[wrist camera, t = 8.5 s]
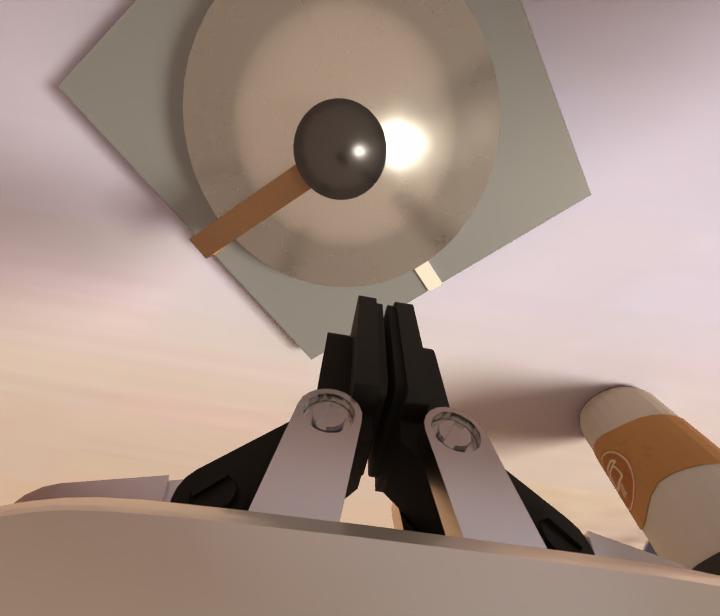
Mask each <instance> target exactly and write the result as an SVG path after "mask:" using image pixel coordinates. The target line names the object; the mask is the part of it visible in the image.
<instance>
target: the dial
mask: <svg viewBox="0 0 720 616" xmlns="http://www.w3.org/2000/svg"><path fill="white" fill-rule="evenodd" d="M183 121H184V132H185V138H186V143H187V149H188V153H189V157H190V160H191V163H192V167H193V170H194V173H195V176H196V178H197V180H198V183H199V185H200V187H201V190H202V192H203V194H204V196H205V198H206V199H207V201H208V203H209V205H210V207H211V208H212V210H213V212H214V213H215V214H216V216H217V217H218V219H216V220H215V221H213V222H212V223H211V224H209V225H208V226H207V227H205V228H204V229H202V230H201V231H200V232H198V233H197V234H196V235H194V236H193V237H191V238H190V239H189V240H190V241H191V242H192V243H193V244H194V245H195V246H196V248H197V249H198V250H199V251H200V252H201V253H202V255H203V256H204V257H205V258H206V259H207V258H208V257H210V256H211V255H213V254H214V253H216V252H217V251H219V250H220V249H222V248H223V247H225V246H226V245H228V244H229V243H231V242H232V241H234V240H235V239H236V240H237V241H238V242H239V243H240V244H241V245H242V246H243V247H244V248H245V249H247V250H248V251H249V252H250V253H251V254H252V255H254V256H255V257H257V258H258V259H259V260H261V261H262V262H264V263H265V264H267V265H268V266H270V267H272V268H274V269H276V270H278V271H279V272H281V273H283V274H286V275H288V276H291V277H293V278H296V279H298V280H301V281H305V282H309V283H312V284H316V285H323V286H330V287H359V286H368V285H373V284H377V283H382V282H385V281H388V280H391V279H394V278H397V277H400V276H402V275H404V274H406V273H408V272H410V271H412V270H414V269H416V268H417V267H419V266H421V265H422V264H424V263H425V262H427V261H428V260H430V259H431V258H432V257H434V256H435V255H436V254H437V253H439V252H440V251H441V250H442V249H443V248H444V247H445V246H446V245H447V244H448V243H449V242H450V241H451V240H452V239H453V238H454V237H455V236H456V235H457V234H458V233H459V231H460V230H461V229H462V227H463V226H464V225H465V223H466V222H467V221H468V219H469V218H470V216H471V214H472V213H473V211H474V209H475V208H476V206H477V204H478V203H479V201H480V199H481V196H482V194H483V192H484V190H485V187H486V185H487V183H488V180H489V177H490V174H491V170H492V167H493V164H494V160H495V155H496V150H497V145H498V138H499V125H500V104H499V90H498V84H497V78H496V72H495V68H494V64H493V61H492V57H491V54H490V51H489V47H488V45H487V42H486V40H485V38H484V35H483V33H482V31H481V29H480V26H479V24H478V22H477V20H476V19H475V17H474V16H473V14H472V12H471V11H470V9H469V7H468V6H467V4H466V2H465V1H464V0H214V2H213V3H212V5H211V6H210V8H209V9H208V11H207V13H206V15H205V17H204V19H203V21H202V23H201V25H200V27H199V29H198V31H197V33H196V36H195V39H194V42H193V45H192V48H191V51H190V54H189V58H188V63H187V68H186V74H185V79H184V91H183Z"/></svg>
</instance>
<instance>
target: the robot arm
mask: <svg viewBox="0 0 720 616" xmlns="http://www.w3.org/2000/svg"><path fill="white" fill-rule="evenodd" d="M367 460H368V475H369V476H370V477H375V491H379V492H384V493H385V494H386V496H387V497H388V498H389V499H390V500H391V501H392V502H393V504H392V518H393V523H394V528H395V529H391V528H383V527H375V526H367V525H359V524H351V523H343V522H340V517H341V513H342V508H343V504H344V499H345V498H346V497H348V496H349V495H350V494H351V493H353V492H354V491H355V490H356V489H358V485H359V482H360V478H361V475H363V474H364V470H365V467H366V464H367ZM0 616H720V576H719V575H714V574H709V573H704V572H699V571H694V570H691V569H689V568H687V567H685V566H683V565H681V564H679V563H676V562H673V561H671V560H668V559H665V558H662V557H659V556H657V555H654V554H651V553H648V552H645V551H643V550H640V549H637V548H634V547H631V546H629V545H626V544H623V543H620V542H617V541H615V540H612V539H609V538H606V537H603V536H600V535H598V534H595V533H592V532H589V531H587V532H586V534H585V535H583V534H582V533H581V531H580V530H579V529H578V528H577V527H576V526H575V525H574V524H573V523H572V522H571V521H570V520H568V519H567V518H566V517H565V516H563V515H562V514H561V513H560V512H558V511H557V510H556V509H555V508H553V507H552V506H551V505H550V504H548V503H547V502H546V501H544V500H543V499H542V498H541V497H539V496H538V495H537V494H536V493H534V492H533V491H532V490H531V489H529V488H528V487H527V486H526V485H524V484H523V483H522V482H520V481H519V480H518V479H517V478H515V477H514V476H513V475H512V474H510V473H509V472H508V471H507V470H505V468H504V466H503V464H502V462H501V460H500V459H499V457H498V455H497V453H496V451H495V449H494V447H493V445H492V444H491V442H490V440H489V438H488V436H487V434H486V432H485V431H484V429H483V428H482V426H481V425H480V424H479V423H478V422H477V421H476V420H475V419H474V418H473V417H471V416H470V415H468V414H466V413H465V412H463V411H460V410H458V409H455V408H450V407H449V403H448V400H447V396H446V392H445V389H444V385H443V381H442V378H441V374H440V370H439V367H438V363H437V359H436V356H435V353H434V350H432V349H427V348H423V346H422V342H421V338H420V333H419V329H418V324H417V320H416V316H415V311H414V307H413V305H411V304H406V303H400V302H394V304H393V306H391V305H387V307H386V310H385V314H384V316H383V304H379V303H377V299H376V298H371V297H366V296H360V295H359V296H358V300H357V305H356V310H355V315H354V320H353V324H352V329H351V334H350V336H349V335H343V334H337V333H331V332H328V333H327V339H326V344H325V350H324V355H323V361H322V366H321V372H320V377H319V382H318V388H317V390H314V391H311V392H309V393H307V394H306V395H305V396H303V397H302V398H301V400H300V401H299V402H298V404H297V406H296V408H295V411H294V413H293V415H292V417H291V419H290V421H289V422H288V423H286V424H284V425H282V426H280V427H278V428H276V429H274V430H272V431H270V432H268V433H267V434H265V435H263V436H261V437H259V438H257V439H255V440H253V441H251V442H249V443H247V444H245V445H243V446H242V447H240V448H238V449H236V450H234V451H232V452H230V453H228V454H226V455H224V456H222V457H220V458H218V459H217V460H215V461H213V462H211V463H209V464H207V465H205V466H203V467H201V468H199V469H197V470H196V471H194V472H193V473H191V474H190V475H188V476H187V477H186V478H185V479H184V480H172V481H169V475H165V476H152V477H138V478H125V479H112V480H99V481H86V482H73V483H60V484H55V485H50V486H45V487H42V488H39V489H37V490H35V491H33V492H31V493H29V494H26V495H24V496H23V497H22V498H20V499H19V500H18V501H16V502H15V503H13V504H9V505H4V506H0Z"/></svg>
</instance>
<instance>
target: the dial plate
mask: <svg viewBox="0 0 720 616" xmlns="http://www.w3.org/2000/svg"><path fill="white" fill-rule="evenodd" d="M464 1H465V2H466V4H467V6H468V7H469V9H470V11H471V12H472V14H473V16H474V17H475V19H476V20H477V22H478V24H479V26H480V29H481V31H482V33H483V35H484V38H485V40H486V42H487V45H488V47H489V51H490V54H491V57H492V61H493V64H494V68H495V72H496V78H497V84H498V90H499V104H500V125H499V138H498V145H497V150H496V155H495V160H494V164H493V167H492V170H491V174H490V177H489V180H488V183H487V185H486V187H485V190H484V192H483V194H482V196H481V199H480V201H479V203H478V204H477V206H476V208H475V209H474V211H473V213H472V214H471V216H470V218H469V219H468V221H467V222H466V223H465V225H464V226H463V227H462V229H461V230H460V231H459V233H458V234H457V235H456V236H455V237H454V238H453V239H452V240H451V241H450V242H449V243H448V244H447V245H446V246H445V247H444V248H443V249H442V250H441V251H440V252H439V253H437V254H436V255H435V256H434V257H432V258H431V259H430V260H428V261H427V262H425V263H424V264H422V265H421V266H419V267H417V268H416V269H414V270H412V271H410V272H408V273H406V274H404V275H402V276H400V277H397V278H394V279H391V280H388V281H385V282H382V283H377V284H373V285H368V286H359V287H330V286H323V285H316V284H312V283H309V282H305V281H301V280H298V279H296V278H293V277H291V276H288V275H286V274H283V273H281V272H279V271H278V270H276V269H274V268H272V267H270V266H268V265H267V264H265V263H264V262H262V261H261V260H259V259H258V258H257V257H255V256H254V255H252V254H251V253H250V252H249V251H248V250H247V249H245V248H244V247H243V246H242V245H241V244H240V243H239V242H238V241H237V240H236V239H235V240H234V241H232V242H231V243H229V244H228V245H226V246H225V247H223V248H222V249H220V250H219V251H217V252H216V253H214V254H213V255H215V256H216V257H217V259H218V260H219V261H220V262H221V263H222V264H223V265H224V266H225V267H226V268H227V269H228V270H229V271H230V272H231V274H232V275H233V276H234V277H235V278H236V279H237V280H238V281H239V282H240V283H241V284H242V285H243V286H244V288H245V289H246V290H247V291H248V292H249V293H250V294H251V295H252V296H253V297H254V298H255V299H256V300H257V302H258V303H259V304H260V305H261V306H262V307H263V308H264V309H265V310H266V311H267V312H268V313H269V314H270V316H271V317H272V318H273V319H274V320H275V321H276V322H277V323H278V324H279V325H280V326H281V327H282V328H283V329H284V331H285V332H286V333H287V334H288V335H289V336H290V337H291V338H292V339H293V340H294V341H295V342H296V343H297V345H298V346H299V347H300V348H301V349H302V350H303V351H304V352H305V353H306V354H307V355H308V356H309V357H310V359H311V360H312V359H313V358H315V357H317V356H318V355H320V354H322V353H323V352H324V350H325V344H326V339H327V333H328V332H331V333H337V334H343V335H349V336H350V334H351V329H352V324H353V320H354V315H355V310H356V305H357V300H358V296H359V295H360V296H366V297H371V298H376V299H377V303H379V304H383V316H384V314H385V310H386V307H387V305H391V306H393V304H394V302H400V303H406V304H407V303H408V302H410V301H412V300H413V299H415V298H417V297H418V296H420V295H422V294H424V293H425V292H427V291H429V292H430V291H431V290H433V289H435V288H436V287H438V286H440V285H442V282H444V281H446V280H447V279H449V278H451V277H452V276H454V275H456V274H457V273H459V272H461V271H462V270H464V269H466V268H468V267H469V266H471V265H473V264H474V263H476V262H478V261H479V260H481V259H483V258H485V257H486V256H488V255H490V254H491V253H493V252H495V251H496V250H498V249H500V248H501V247H503V246H505V245H507V244H508V243H510V242H512V241H513V240H515V239H517V238H518V237H520V236H522V235H524V234H525V233H527V232H529V231H530V230H532V229H534V228H535V227H537V226H539V225H540V224H542V223H544V222H546V221H547V220H549V219H551V218H552V217H554V216H556V215H557V214H559V213H561V212H563V211H564V210H566V209H568V208H569V207H571V206H573V205H574V204H576V203H578V202H579V201H581V200H583V199H585V198H586V197H588V196H590V195H591V193H590V190H589V187H588V185H587V182H586V179H585V176H584V174H583V171H582V168H581V165H580V163H579V160H578V157H577V154H576V152H575V149H574V146H573V143H572V141H571V138H570V135H569V132H568V130H567V127H566V124H565V121H564V119H563V116H562V113H561V110H560V108H559V105H558V102H557V99H556V97H555V94H554V91H553V88H552V86H551V83H550V80H549V78H548V75H547V72H546V69H545V67H544V64H543V61H542V58H541V56H540V53H539V50H538V47H537V45H536V42H535V39H534V36H533V34H532V31H531V28H530V25H529V23H528V20H527V17H526V14H525V12H524V9H523V6H522V3H521V1H520V0H464ZM213 2H214V0H136V1H135V2H134V3H133V4H132V5H131V6H130V7H129V8H128V9H127V11H126V12H125V13H124V14H123V15H122V16H121V17H120V18H119V19H118V20H117V22H116V23H115V24H114V25H113V26H112V27H111V28H110V29H109V30H108V31H107V33H106V34H105V35H104V36H103V37H102V38H101V39H100V40H99V41H98V42H97V44H96V45H95V46H94V47H93V48H92V49H91V50H90V51H89V52H88V53H87V55H86V56H85V57H84V58H83V59H82V60H81V61H80V62H79V63H78V64H77V66H76V67H75V68H74V69H73V70H72V71H71V72H70V73H69V74H68V75H67V77H66V78H65V79H64V80H63V81H62V82H61V83H60V84H59V85H58V87H59V89H60V90H61V91H62V92H63V93H64V94H65V95H66V96H67V97H68V98H69V99H70V100H71V101H72V103H73V104H74V105H75V106H76V107H77V108H78V109H79V110H80V111H81V112H82V113H83V114H84V115H85V117H86V118H87V119H88V120H89V121H90V122H91V123H92V124H93V125H94V126H95V127H96V128H97V129H98V131H99V132H100V133H101V134H102V135H103V136H104V137H105V138H106V139H107V140H108V141H109V142H110V143H111V144H112V146H113V147H114V148H115V149H116V150H117V151H118V152H119V153H120V154H121V155H122V156H123V157H124V158H125V160H126V161H127V162H128V163H129V164H130V165H131V166H132V167H133V168H134V169H135V170H136V171H137V172H138V174H139V175H140V176H141V177H142V178H143V179H144V180H145V181H146V182H147V183H148V184H149V185H150V186H151V188H152V189H153V190H154V191H155V192H156V193H157V194H158V195H159V196H160V197H161V198H162V199H163V200H164V201H165V203H166V204H167V205H168V206H169V207H170V208H171V209H172V210H173V211H174V212H175V213H176V214H177V215H178V217H179V218H180V219H181V220H182V221H183V222H184V223H185V224H186V225H187V226H188V227H189V228H190V229H191V231H192V232H193V233H194V234H195V235H196V234H197V233H198V232H200V231H201V230H202V229H204V228H205V227H207V226H208V225H209V224H211V223H212V222H213V221H215V220H216V219H218V217H217V216H216V214H215V213H214V212H213V210H212V208H211V207H210V205H209V203H208V201H207V199H206V198H205V196H204V194H203V192H202V190H201V187H200V185H199V183H198V180H197V178H196V176H195V173H194V170H193V167H192V163H191V160H190V157H189V153H188V149H187V143H186V138H185V132H184V121H183V91H184V79H185V74H186V68H187V63H188V58H189V54H190V51H191V48H192V45H193V42H194V39H195V36H196V33H197V31H198V29H199V27H200V25H201V23H202V21H203V19H204V17H205V15H206V13H207V11H208V9H209V8H210V6H211V5H212V3H213Z"/></svg>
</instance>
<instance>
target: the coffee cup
mask: <svg viewBox="0 0 720 616" xmlns="http://www.w3.org/2000/svg"><path fill="white" fill-rule="evenodd" d="M580 426H581V431H582V433H583V435H584V436H585V438H586V440H587V441H588V443H589V444H590V446H591V448H592V449H593V451H594V453H595V455H596V457H597V459H598V461H599V463H600V464H601V466H602V468H603V469H604V471H605V472H606V474H607V476H608V477H609V479H610V481H611V482H612V484H613V485H614V487H615V489H616V490H617V492H618V494H619V495H620V497H621V499H622V500H623V502H624V503H625V505H626V507H627V508H628V510H629V512H630V513H631V515H632V517H633V518H634V520H635V521H636V523H637V525H638V526H639V528H640V529H642V530H643V532H644V533H645V535H646V537H647V538H648V540H649V542H650V543H651V545H652V546H653V548H654V550H655V551H656V553H657V554H658V556H659V557H662V558H665V559H668V560H671V561H673V562H676V563H679V564H681V565H683V566H685V567H687V568H689V569H691V570H694V571H699V572H704V573H709V574H714V575H719V576H720V448H718V447H717V446H716V445H715V444H713V443H712V442H711V441H710V440H709V439H707V438H706V437H705V436H704V435H702V434H701V433H700V432H699V431H697V430H696V429H695V428H694V427H692V426H691V425H690V424H689V423H688V422H686V421H685V420H684V419H683V418H680V417H679V416H677V415H676V414H675V413H674V412H672V411H671V410H670V409H669V408H668V407H666V406H665V405H664V404H663V403H661V402H660V401H659V400H658V399H657V398H655V397H654V396H653V395H652V394H650V393H648V392H646V391H644V390H639V389H637V388H635V387H628V386H624V387H615V388H611V389H608V390H606V391H603V392H601V393H599V394H598V395H596V396H595V397H593V398H592V399H591V400H590V401H588V402H587V403H586V405H585V406H584V408H583V409H582V411H581V414H580Z"/></svg>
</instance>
